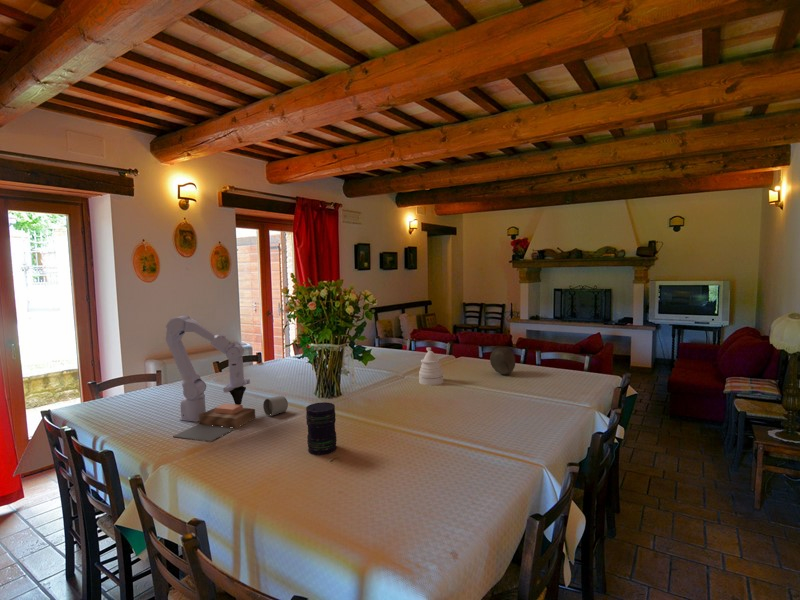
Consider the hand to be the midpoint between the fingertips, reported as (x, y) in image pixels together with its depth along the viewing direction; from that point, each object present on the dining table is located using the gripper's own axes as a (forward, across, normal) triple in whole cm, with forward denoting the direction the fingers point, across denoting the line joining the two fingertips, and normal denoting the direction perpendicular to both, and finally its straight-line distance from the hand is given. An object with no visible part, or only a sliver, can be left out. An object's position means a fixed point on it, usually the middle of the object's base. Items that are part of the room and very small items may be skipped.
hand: (238, 404), depth 187 cm
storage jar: (+5, -22, -52) cm, 57 cm away
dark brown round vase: (+5, +94, -102) cm, 139 cm away
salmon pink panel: (+1, -6, 0) cm, 6 cm away
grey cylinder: (+5, +6, -13) cm, 16 cm away
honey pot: (+5, +70, -67) cm, 97 cm away
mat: (+5, -20, 0) cm, 21 cm away
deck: (+5, -7, 0) cm, 9 cm away
